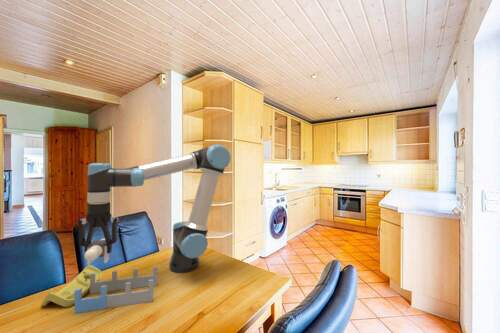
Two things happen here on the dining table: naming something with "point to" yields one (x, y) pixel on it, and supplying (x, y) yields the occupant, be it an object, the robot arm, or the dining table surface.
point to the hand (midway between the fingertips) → (98, 262)
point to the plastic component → (73, 288)
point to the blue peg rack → (113, 285)
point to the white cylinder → (95, 250)
